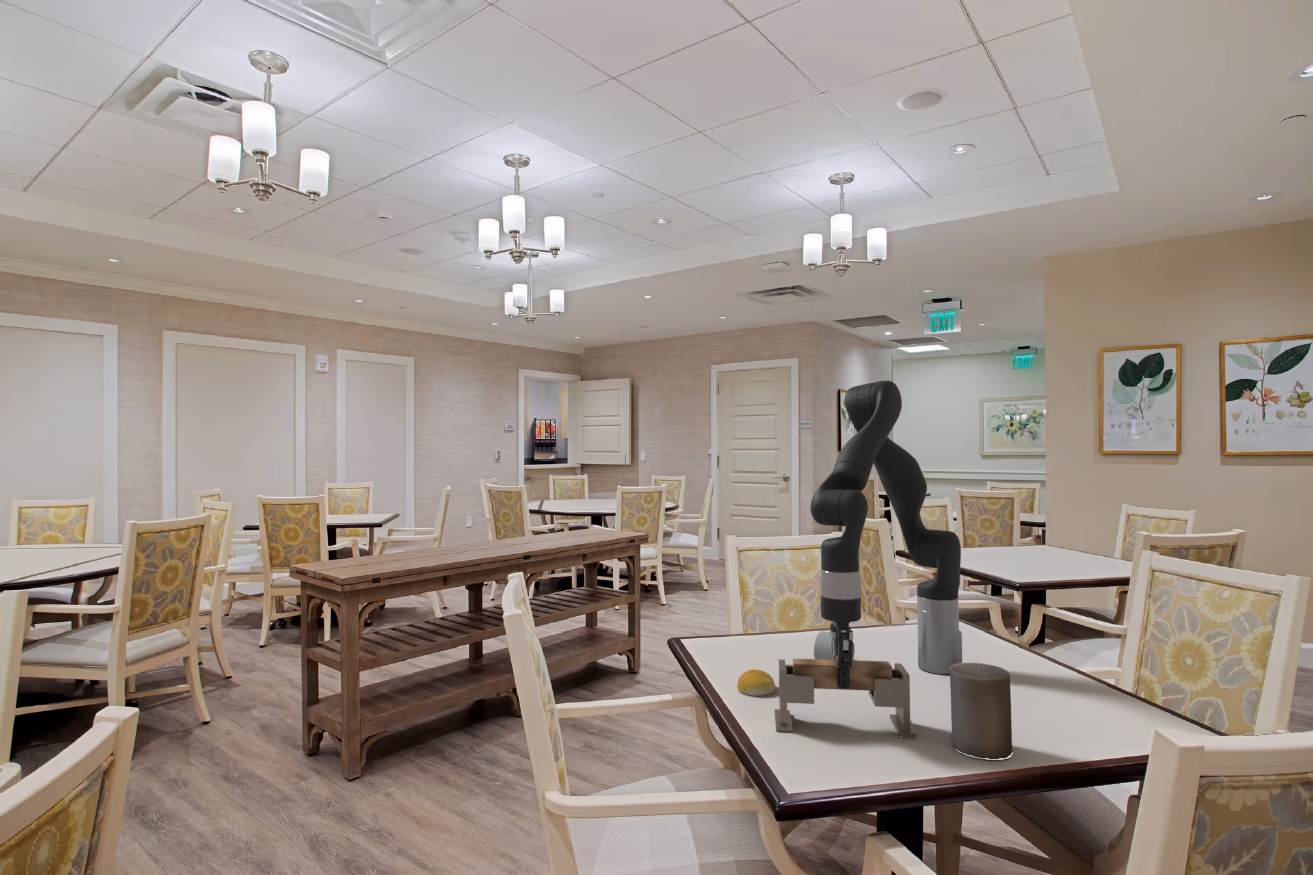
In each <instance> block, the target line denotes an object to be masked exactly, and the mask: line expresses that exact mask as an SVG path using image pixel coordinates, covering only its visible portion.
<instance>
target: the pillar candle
mask: <svg viewBox="0 0 1313 875" xmlns="http://www.w3.org/2000/svg"><path fill="white" fill-rule="evenodd" d="M949 669H950V674H949V681H950V683H949V684H950V687H949V688H950V712H951V713H950V715H951V716H950V719H951V723H950V724H951V743H952V747H953V748H954V750H956V749H957V750H958V751H960V752H962V753H965V754H967V755H972V756H975V757H978V758H979V757H980V758H989V759H999V758H1006V757H1008V756H1009V755H1011V753H1012V752H1013V753H1014V750H1013V737H1012V736H1013V731H1012V730H1013V729H1012V726H1013V725H1012V702H1011V701H1012V700H1011V699H1012V698H1011V695H1012V694H1011V693H1012V692H1011V676H1010V675H1011V674H1010V672H1009V671H1008V670H1007V669H1004V668H1003V667H1000V666H997V665H993V664H987V663H980V662H962V663H959V664H954V665H953V666H950V668H949ZM958 751H957V752H958Z"/></svg>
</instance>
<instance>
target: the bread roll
mask: <svg viewBox="0 0 1313 875" xmlns="http://www.w3.org/2000/svg"><path fill="white" fill-rule="evenodd" d="M736 688H737V691H738V692H739V693H741V694H743V695H747V696H751V697H762V696H763V697H764V696H768V695H771V694H773V693H774V691H775V690H776V683H775V681H774V678H773V677H772V676H771V674H769V673H767V672H766V671H764V670H762V669H754V668H753V669H749V670H746V671H745V672H743V673H742V674H741V675H740V676H739V678H738V680H737V684H736Z"/></svg>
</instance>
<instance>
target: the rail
mask: <svg viewBox="0 0 1313 875" xmlns="http://www.w3.org/2000/svg"><path fill="white" fill-rule="evenodd" d="M841 661H847V660H841ZM792 665H793V675H813V676H814V690H815V689H816V690H817V689H818V690H839V691H840V690H841V691H842V690H845V691H846V690H847V691H868V692H869V691H874V677H875V678H892V668H893V667H892V665H891V663H890V661H887V660H886V661H884V660H883V661H882V660H858V659H857V660H855V659H853V660H852V668H850V669H849V676H850V687H849V688H848V689H843V688H838V686H837V666H836V660H823V659H815V658H814V659H813V658H812V659H811V658H792Z"/></svg>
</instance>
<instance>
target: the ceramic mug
mask: <svg viewBox="0 0 1313 875" xmlns="http://www.w3.org/2000/svg"><path fill="white" fill-rule="evenodd" d="M852 652H853V654H852V660H854V658H855V652H856V650H855V642H853V650H852ZM813 656H814V659H823V660H833V654H832V648H831V636H830V631H829V632H828V631H824V630H821V631H819V632H818V633H817V635H816V637H815V639H814V644H813Z"/></svg>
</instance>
